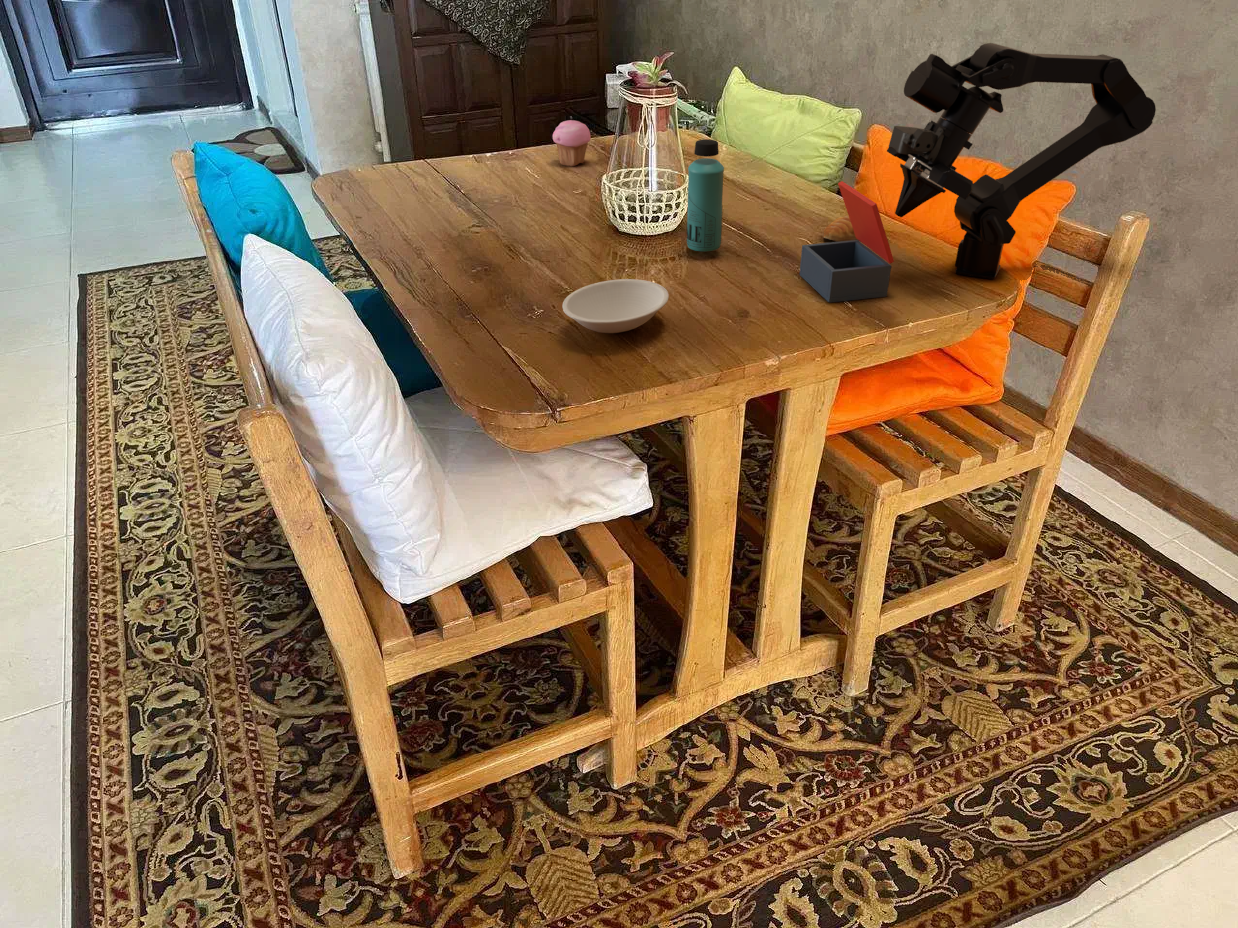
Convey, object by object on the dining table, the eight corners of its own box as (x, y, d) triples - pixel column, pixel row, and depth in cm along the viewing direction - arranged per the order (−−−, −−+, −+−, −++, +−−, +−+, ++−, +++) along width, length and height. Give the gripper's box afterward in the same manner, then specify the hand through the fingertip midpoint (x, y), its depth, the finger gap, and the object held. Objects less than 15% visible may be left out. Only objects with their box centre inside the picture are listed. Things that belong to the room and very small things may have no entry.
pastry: (841, 247, 169) (843, 227, 167) (813, 238, 173) (815, 218, 171) (874, 236, 173) (876, 216, 171) (845, 227, 178) (848, 208, 176)
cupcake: (570, 157, 224) (568, 114, 219) (598, 162, 220) (597, 119, 215) (547, 166, 218) (544, 122, 213) (576, 171, 214) (574, 126, 209)
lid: (871, 206, 140) (876, 203, 140) (837, 183, 150) (842, 180, 150) (889, 264, 146) (894, 261, 146) (855, 238, 156) (860, 236, 156)
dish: (620, 300, 149) (619, 271, 147) (689, 324, 141) (690, 293, 139) (542, 336, 138) (540, 305, 136) (612, 363, 130) (612, 331, 128)
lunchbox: (828, 303, 147) (832, 271, 144) (799, 274, 158) (802, 245, 155) (887, 296, 149) (891, 265, 146) (853, 269, 159) (857, 239, 157)
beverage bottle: (726, 250, 168) (731, 137, 157) (713, 262, 163) (718, 147, 152) (693, 245, 171) (696, 134, 160) (679, 257, 166) (682, 143, 155)
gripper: (891, 89, 148) (837, 178, 154) (947, 119, 133) (885, 216, 139) (941, 119, 152) (887, 204, 159) (1001, 151, 137) (939, 243, 144)
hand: (897, 215), depth 150 cm, fingers closed
